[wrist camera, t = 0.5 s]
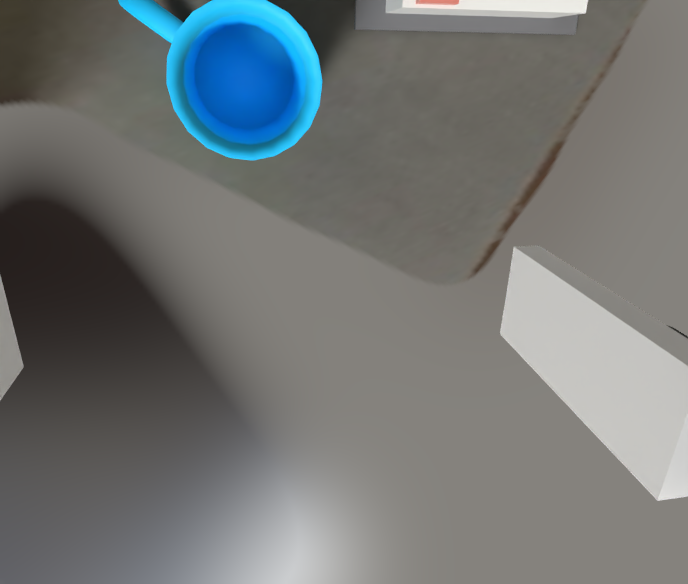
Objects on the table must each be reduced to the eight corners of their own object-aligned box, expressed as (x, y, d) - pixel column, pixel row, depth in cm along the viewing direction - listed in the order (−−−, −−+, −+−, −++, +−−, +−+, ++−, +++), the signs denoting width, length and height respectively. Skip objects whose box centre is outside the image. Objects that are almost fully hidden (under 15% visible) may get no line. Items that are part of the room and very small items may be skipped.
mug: (328, 62, 36) (351, 62, 29) (264, 163, 38) (270, 188, 31) (165, -64, 32) (143, -103, 24) (101, 57, 34) (63, 56, 26)
